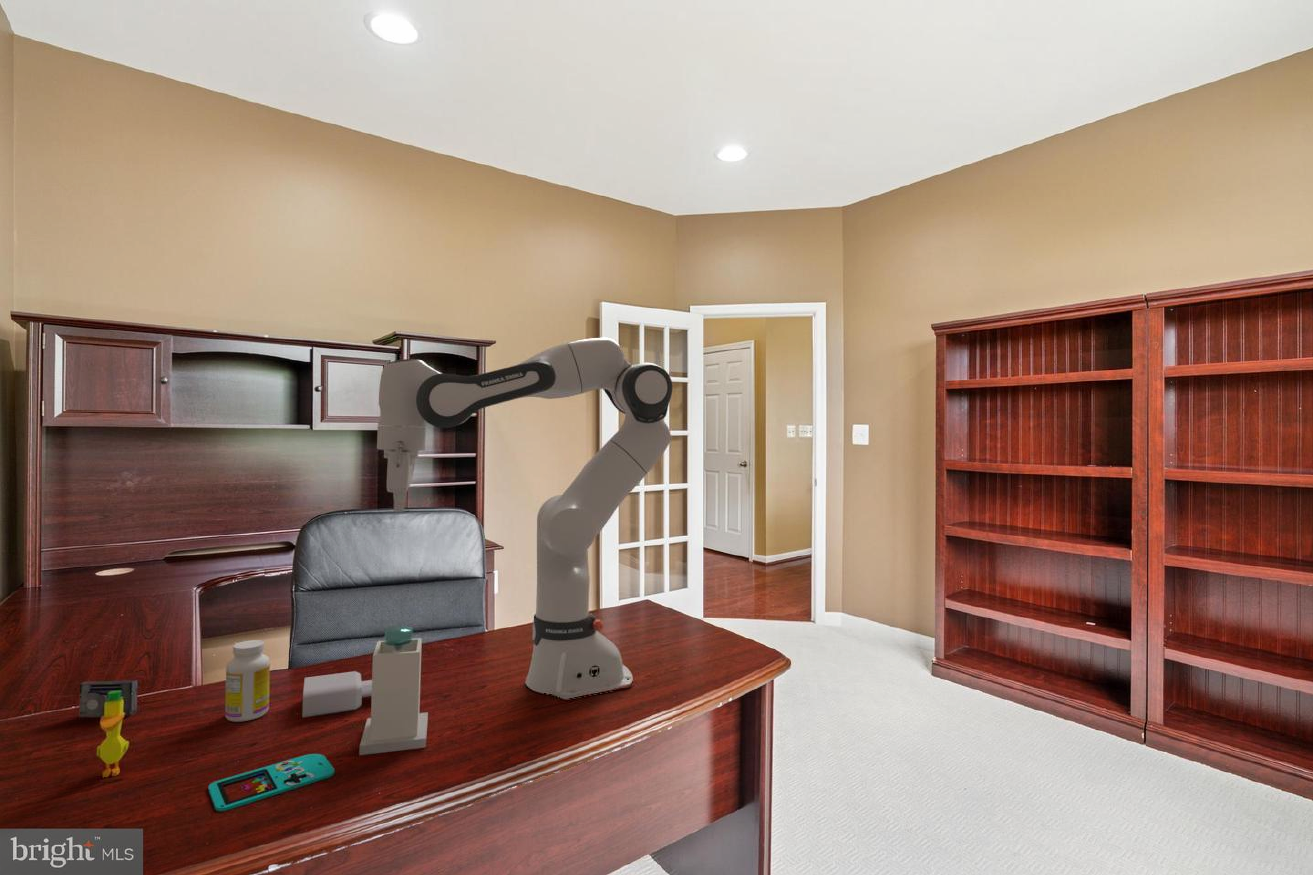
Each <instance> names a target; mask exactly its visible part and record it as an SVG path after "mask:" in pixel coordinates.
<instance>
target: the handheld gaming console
mask: <svg viewBox="0 0 1313 875" xmlns="http://www.w3.org/2000/svg"><path fill="white" fill-rule="evenodd" d="M261 774H263V775H261ZM334 774H335V768H334V767H333V765H332V764H331V763H330V761H329V760H328V759H327V757H326V756H325V755H323V754H322V753H321V754H320V753H309V754H304V755H301V756H298V757H294V758H289V759H287V760H283V761H281V762H277V763H273V764H270V765H267V766H266V765H265V766H263V767H260V768H256V769H254V770H250V771H246V772H243V773H238V774H236V775H233V776H229V777H226V778H222V779H219V780H216V781H213V782H212V783H209V785H208V787H207V788H208V790H209V791H208V794H209V796H210V798H211V801H212V803H213V806H214V809H215V810H216V811H218V812H226V811H230V810H233V809H236V808H238V807H241V806H244V805H248V804H252V803H254V802H257V801H260V800H263V799H266V798H269V797H272V796H276V795H278V794H282V793H285V792H289V791H291V790H294V789H295V790H296V789H297V788H301V787H303V786H307V785H310V784H313V783H316V782H319V781H323V780H325V779H329V778H330V777H332V776H334ZM255 776H256V777H255ZM252 777H254V780H253V781H251V783H252V784H255V783H260V784H261V785H258V787H257V788H255V791H256V793H253V794H249V795H247V796H242V797H240V798H238V799H234V800H230V799H229V796H228V794H227V792H226V789H225V787H224V785H228V784H231V783H234V782H235V783H236V782H238V781H241V780H245V779H248V778H252ZM244 786H245V787H246V786H247V787H246V788H244V787H242V786H241V787H242V788H241V789H245V790H246V791H248V790H250V787H249V784H245V785H244Z"/></svg>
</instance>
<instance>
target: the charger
mask: <svg viewBox="0 0 1313 875" xmlns="http://www.w3.org/2000/svg"><path fill="white" fill-rule="evenodd" d="M367 697H372V679H369V680H362V674H361V673H360V672H358V671H356V670H353V671H348V672H340V673H339V672H338V673H333V674H331V673H330V674H326V675H325V674H324V675H316V676H310V677H309V676H308V677H304V682H303V693H302V712H301V713H302V719H304V718H309V717H311V718H312V717H316V716H323V715H328V714H329V715H330V714H337V713H344V712H348V711H349V712H350V711H356V710H357V709H359V708H360V707H362V705H363V704H362V702H363V700H362V699H363V698H367Z"/></svg>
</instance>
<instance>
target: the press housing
mask: <svg viewBox="0 0 1313 875" xmlns="http://www.w3.org/2000/svg"><path fill="white" fill-rule="evenodd" d="M422 640H423V638H419V637H418V638H412V642H410V643H408V644H405V645H403V652H396V653H393V646H391V645H386V644H385V640H377V642H376V645H375V649H374V651H373V653H372V654H373V655H372V667H371V668H372V670H371V671H372V674H371V680H372V696H371V701H370V704H371V708H370V717H368V718H367V719H366V722H365V726H364V729H363V733H362V736H361V741H360V744H359V754H358V755H359V756H364V755H371V754H372V755H375V754H381V753H388V752H389V753H391V752H397V751H399V752H400V751H407V750H416V749H423V748H424V749H425V748H426V747H427V746H426V745H427V732H428V721H429V719H428V717H429V712H428V711H427V712H420V705H421V675H422V674H421V672H422V648H423V647H422V642H423V641H422Z"/></svg>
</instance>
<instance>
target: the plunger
mask: <svg viewBox="0 0 1313 875" xmlns="http://www.w3.org/2000/svg"><path fill="white" fill-rule="evenodd" d="M413 630H414V629H413V627H412V626H409V625H395V626H391V627H388V628H385V629H384V641H385V644H386V645H391V646H393V653H396V652H403V645H405V644H408V643H410V642H412V639H413Z"/></svg>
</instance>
